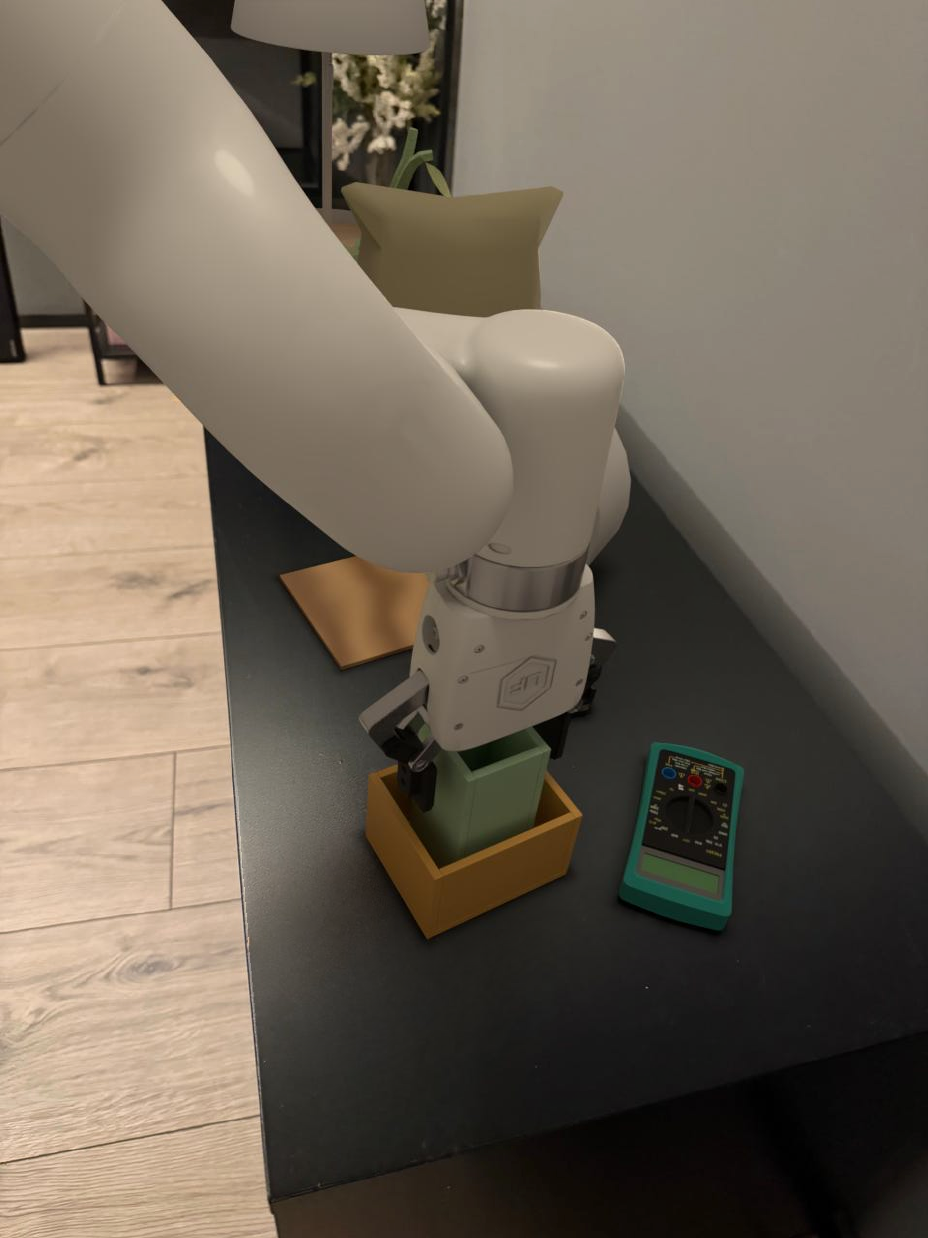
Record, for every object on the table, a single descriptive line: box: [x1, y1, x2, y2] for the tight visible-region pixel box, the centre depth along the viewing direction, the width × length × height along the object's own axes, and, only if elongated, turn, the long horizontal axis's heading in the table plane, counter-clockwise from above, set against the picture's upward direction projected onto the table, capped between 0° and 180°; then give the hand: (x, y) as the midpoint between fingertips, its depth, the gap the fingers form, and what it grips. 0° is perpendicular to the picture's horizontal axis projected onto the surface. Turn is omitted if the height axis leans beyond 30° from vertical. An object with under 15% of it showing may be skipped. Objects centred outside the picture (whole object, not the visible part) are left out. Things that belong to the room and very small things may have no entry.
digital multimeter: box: [618, 741, 745, 931], centre depth 67 cm, size 7×15×3 cm, turn 163°
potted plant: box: [342, 127, 452, 263], centre depth 114 cm, size 22×18×30 cm
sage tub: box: [410, 723, 551, 869], centre depth 61 cm, size 6×6×12 cm
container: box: [340, 181, 564, 318], centre depth 99 cm, size 24×17×30 cm
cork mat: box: [279, 555, 430, 671], centre depth 86 cm, size 14×14×1 cm
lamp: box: [230, 0, 431, 248], centre depth 143 cm, size 29×29×43 cm
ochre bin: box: [365, 763, 583, 940], centre depth 63 cm, size 11×9×7 cm
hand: (482, 769), depth 60 cm, fingers open, 9 cm apart
